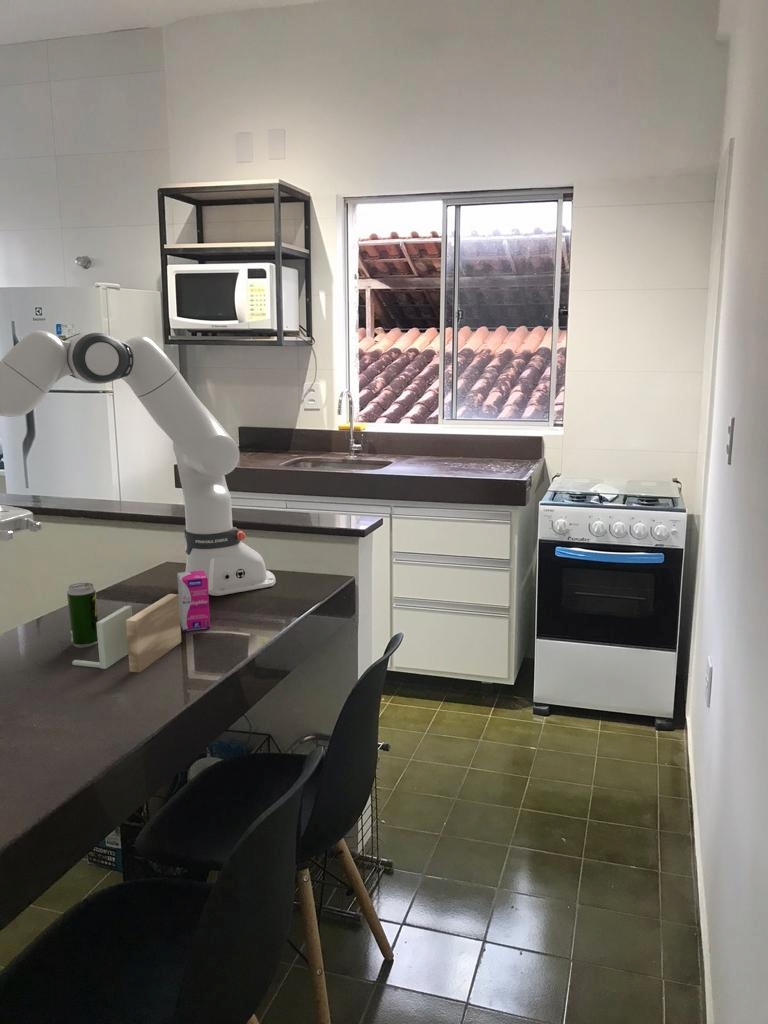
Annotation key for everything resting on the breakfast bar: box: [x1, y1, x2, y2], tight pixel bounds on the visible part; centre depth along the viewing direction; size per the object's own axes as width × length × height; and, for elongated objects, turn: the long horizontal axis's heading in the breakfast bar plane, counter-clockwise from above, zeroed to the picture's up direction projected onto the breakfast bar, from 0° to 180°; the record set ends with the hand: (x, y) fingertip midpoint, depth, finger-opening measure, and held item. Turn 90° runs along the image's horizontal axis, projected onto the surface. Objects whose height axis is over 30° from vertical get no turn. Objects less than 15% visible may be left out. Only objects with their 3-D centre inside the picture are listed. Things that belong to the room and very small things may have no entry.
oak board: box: [126, 593, 182, 673], centre depth 162 cm, size 2×16×10 cm, turn 165°
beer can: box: [66, 582, 99, 649], centre depth 169 cm, size 5×5×12 cm
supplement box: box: [176, 571, 211, 632], centre depth 178 cm, size 6×6×12 cm
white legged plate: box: [71, 605, 133, 670], centre depth 162 cm, size 7×10×9 cm
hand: (25, 531), depth 168 cm, fingers open, 8 cm apart
